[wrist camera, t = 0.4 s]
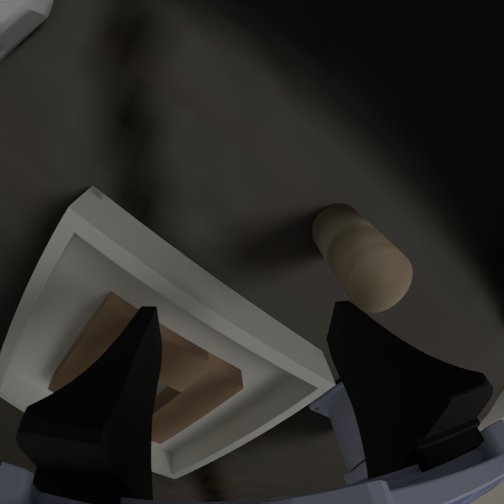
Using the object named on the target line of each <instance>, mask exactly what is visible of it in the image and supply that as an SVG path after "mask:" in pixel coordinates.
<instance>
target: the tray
mask: <svg viewBox="0 0 504 504" xmlns="http://www.w3.org/2000/svg"><path fill="white" fill-rule="evenodd" d="M110 291H112V292H113V293H115V294H116V295H118V296H119V297H121V298H122V299H124V300H125V301H127V302H128V303H130V304H131V305H133V306H134V307H136V308H137V309H139V308H141V307H142V306H157V312H158V319H159V323H161V324H162V325H164V326H166V327H167V328H169V329H170V330H172V331H174V332H175V333H177V334H179V335H180V336H182V337H184V338H185V339H187V340H189V341H190V342H192V343H194V344H196V345H197V346H199V347H201V348H202V349H204V350H206V351H208V352H210V353H211V354H213V355H215V356H217V357H218V358H220V359H222V360H224V361H226V362H228V363H229V364H231V365H233V366H235V367H237V368H239V369H241V374H242V381H243V389H242V390H240V391H239V392H238V393H236V394H235V395H234V396H232V397H231V398H229V399H228V400H227V401H225V402H224V403H222V404H221V405H219V406H218V407H217V408H215V409H214V410H212V411H211V412H209V413H208V414H206V415H205V416H203V417H202V418H201V419H199V420H198V421H196V422H195V423H193V424H192V425H190V426H188V427H187V428H185V429H184V430H182V431H181V432H179V433H178V434H176V435H175V436H173V437H171V438H170V439H168V440H167V441H165V442H163V443H162V444H158V443H156V442H153V441H151V470H152V472H154V473H158V474H161V475H164V476H167V477H170V478H173V479H177V478H179V477H181V476H183V475H185V474H187V473H190V472H192V471H194V470H196V469H198V468H200V467H202V466H204V465H206V464H208V463H210V462H212V461H214V460H216V459H218V458H220V457H222V456H223V455H225V454H227V453H229V452H231V451H233V450H235V449H236V448H238V447H240V446H242V445H244V444H245V443H247V442H249V441H251V440H252V439H254V438H256V437H257V436H259V435H261V434H263V433H264V432H266V431H268V430H269V429H271V428H272V427H274V426H276V425H277V424H279V423H281V422H282V421H284V420H285V419H287V418H288V417H290V416H291V415H293V414H295V413H296V412H298V411H299V410H301V409H302V408H304V407H305V406H307V405H308V404H310V403H311V402H313V401H314V400H315V399H317V398H318V397H320V396H321V395H323V394H324V393H325V392H327V391H328V390H330V389H331V388H332V387H334V386H335V385H336V384H335V382H334V379H333V377H332V374H331V372H330V369H329V367H328V364H327V362H326V360H325V357H324V355H323V352H322V351H321V350H320V349H318V348H317V347H315V346H314V345H312V344H311V343H309V342H308V341H306V340H305V339H303V338H302V337H300V336H299V335H297V334H296V333H294V332H293V331H291V330H290V329H288V328H287V327H285V326H284V325H283V324H281V323H280V322H278V321H277V320H275V319H274V318H272V317H271V316H269V315H268V314H266V313H265V312H264V311H262V310H261V309H259V308H258V307H256V306H255V305H253V304H252V303H251V302H249V301H248V300H246V299H245V298H243V297H242V296H241V295H239V294H238V293H236V292H235V291H234V290H232V289H231V288H229V287H228V286H226V285H225V284H224V283H222V282H221V281H219V280H218V279H217V278H215V277H214V276H212V275H211V274H210V273H208V272H207V271H206V270H204V269H203V268H201V267H200V266H199V265H197V264H196V263H194V262H193V261H192V260H190V259H189V258H188V257H186V256H185V255H184V254H182V253H181V252H179V251H178V250H177V249H175V248H174V247H173V246H171V245H170V244H169V243H167V242H166V241H165V240H163V239H162V238H161V237H159V236H158V235H157V234H155V233H154V232H153V231H151V230H150V229H149V228H147V227H146V226H145V225H143V224H142V223H141V222H139V221H138V220H137V219H135V218H134V217H133V216H131V215H130V214H129V213H128V212H126V211H125V210H124V209H122V208H121V207H120V206H118V205H117V204H116V203H115V202H113V201H112V200H111V199H109V198H108V197H107V196H106V195H104V194H103V193H102V192H100V191H99V190H98V189H97V188H95V187H94V186H92V187H90V188H89V189H88V190H87V191H86V192H85V193H83V194H82V195H81V196H80V197H79V198H78V199H77V200H76V201H74V202H73V203H72V204H71V205H70V206H69V207H68V209H67V210H66V212H65V214H64V215H63V217H62V219H61V221H60V222H59V224H58V226H57V228H56V230H55V231H54V233H53V235H52V237H51V239H50V241H49V242H48V244H47V246H46V248H45V250H44V252H43V254H42V256H41V258H40V260H39V262H38V264H37V266H36V268H35V270H34V272H33V274H32V276H31V278H30V281H29V283H28V285H27V287H26V289H25V292H24V294H23V296H22V298H21V301H20V303H19V305H18V308H17V310H16V313H15V315H14V318H13V320H12V323H11V325H10V328H9V330H8V333H7V336H6V338H5V341H4V344H3V347H2V350H1V353H0V397H1V398H3V399H4V400H6V401H7V402H9V403H10V404H12V405H13V406H15V407H17V408H18V409H20V410H21V411H23V412H25V410H26V408H27V406H29V405H31V404H33V403H35V402H37V401H39V400H41V399H43V398H45V397H47V396H49V395H51V394H52V393H53V392H52V391H50V390H48V387H49V384H50V381H51V379H52V376H53V374H54V372H55V370H56V369H57V367H58V366H59V364H60V363H61V361H62V360H63V358H64V357H65V355H66V354H67V352H68V351H69V349H70V348H71V346H72V345H73V343H74V342H75V340H76V339H77V337H78V336H79V334H80V333H81V332H82V330H83V329H84V327H85V326H86V324H87V323H88V322H89V320H90V319H91V317H92V316H93V315H94V313H95V312H96V310H97V309H98V308H99V306H100V305H101V304H102V302H103V301H104V299H105V298H106V297H107V295H108V294H109V293H110ZM166 387H167V385H165V384H163V383H161V382H159V381H158V387H157V393H156V395H158V394H159V393H160V392H161V391H162V390H164V389H165V388H166Z"/></svg>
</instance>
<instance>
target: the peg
mask: <svg viewBox="0 0 504 504" xmlns="http://www.w3.org/2000/svg"><path fill="white" fill-rule="evenodd" d="M311 231H312V238H313V241H314V243H315V244H316V246H317V247H318V249H319V250H320V252H321V254H322V255H323V257H324V258H325V260H326V261H327V263H328V264H329V266H330V267H331V269H332V270H333V272H334V274H335V275H336V277H337V278H338V280H339V281H340V283H341V285H342V286H343V288H344V289H345V291H346V293H347V294H348V296H349V297H350V299H351V301H352V302H353V304H354V305H355V306H357V307H358V308H359V309H361V310H362V311H363V312H367V313H377V312H381V311H384V310H386V309H388V308H390V307H392V306H393V305H395V304H396V303H397V302H398V301H399V300H400V299H401V298H402V297H403V296H404V295H405V293H406V292H407V290H408V288H409V286H410V284H411V281H412V274H413V272H412V266H411V263H410V261H409V260H408V259H407V258H406V257H405V256H404V255H403V254H402V253H401V252H400V251H399V250H398V249H397V248H396V247H395V246H394V245H393V244H392V243H391V242H390V241H389V240H388V239H387V238H385V237H384V236H383V235H382V234H381V233H380V232H379V231H378V230H377V229H376V228H375V227H374V226H372V225H371V224H370V223H369V222H368V221H367V220H366V219H365V218H364V217H362V216H361V215H360V214H359V213H358V212H357V211H356V210H355V209H353V208H352V207H351V206H349V205H346V204H333V205H330V206H328V207H326V208H324V209H323V210H322V211H321V212H320V213H319V214H318V215H317V216H316V218H315V220H314V222H313V225H312V230H311Z"/></svg>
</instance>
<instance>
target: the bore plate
mask: <svg viewBox="0 0 504 504" xmlns="http://www.w3.org/2000/svg"><path fill="white" fill-rule="evenodd" d="M138 310H139V309H137V308H136V307H134V306H133V305H131V304H130V303H128V302H127V301H125V300H124V299H122V298H121V297H119V296H118V295H116V294H115V293H113V292H112V291H110V293H109V294H108V295H107V297H106V298H105V299H104V301H103V302H102V304H101V305H100V306H99V308H98V309H97V310H96V312H95V313H94V315H93V316H92V317H91V319H90V320H89V322H88V323H87V324H86V326H85V327H84V329H83V330H82V332H81V333H80V334H79V336H78V337H77V339H76V340H75V342H74V343H73V345H72V346H71V348H70V349H69V351H68V352H67V354H66V355H65V357H64V358H63V360H62V361H61V363H60V364H59V366H58V367H57V369H56V370H55V372H54V374H53V376H52V379H51V381H50V384H49V387H48V390H50V391H52V392H53V393H54V392H56V391H57V390H59V389H61V388H62V387H64V386H65V385H67V384H68V383H70V382H71V381H72V380H74V379H75V378H76V377H78V376H79V375H80V374H81V373H83V372H84V371H85V370H86V369H88V368H89V367H90V366H91V365H92V364H93V363H94V362H95V361H96V360H97V359H98V358H99V357H100V356H101V355H102V354H103V353H104V352H105V351H106V350H107V349H108V348H109V347H110V345H111V344H112V343H113V342H114V341H115V340H116V339H117V337H118V336H119V335H120V334H121V332H122V331H123V330H124V329H125V327H126V326H127V325H128V323H129V322H130V321H131V319H132V318H133V317H134V315H135V314H136V313H137V311H138ZM159 326H160V333H161V339H162V361H161V370H160V376H159V382H161V383H163V384H165V385H167V387H166V388H165V389H164V390H162V391H161V392H160V393H159V394H158V395H156V398H155V404H154V410H153V418H152V439H151V441H153V442H156V443H158V444H162V443H163V442H165V441H167V440H168V439H170V438H171V437H173V436H175V435H176V434H178V433H179V432H181V431H182V430H184V429H185V428H187V427H188V426H190V425H192V424H193V423H195V422H196V421H198V420H199V419H201V418H202V417H203V416H205V415H206V414H208V413H209V412H211V411H212V410H214V409H215V408H217V407H218V406H219V405H221V404H222V403H224V402H225V401H227V400H228V399H229V398H231V397H232V396H234V395H235V394H236V393H238V392H239V391H240V390H242V389H243V381H242V374H241V369H239V368H237V367H235V366H233V365H231V364H229V363H228V362H226V361H224V360H222V359H220V358H218V357H217V356H215V355H213V354H211V353H210V352H208V351H206V350H204V349H202V348H201V347H199V346H197V345H196V344H194V343H192V342H190V341H189V340H187V339H185V338H184V337H182V336H180V335H179V334H177V333H175V332H174V331H172V330H170V329H169V328H167V327H166V326H164V325H162V324H161V323H159Z"/></svg>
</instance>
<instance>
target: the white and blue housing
mask: <svg viewBox="0 0 504 504" xmlns="http://www.w3.org/2000/svg"><path fill="white" fill-rule="evenodd" d="M52 4H53V0H0V64H1V63H2V62H3V61H4V60H5V59H6V58H7V57H8V56H9V55H10V54H11V53H12V52H13V51H14V50H15V48H16V47H17V46H18V45H19V44H20V43H21V42H22V41H23V40H24V39H25V38H26V37H27V36H28V35H29V34H30V33H31V32H32V31H33V30H34V29H35V28H37V27H38V26H39V25H40V24H41V23H42V22H43V21H44V20H45V19H46V18H47V17H49V14H50V11H51V8H52Z"/></svg>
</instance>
